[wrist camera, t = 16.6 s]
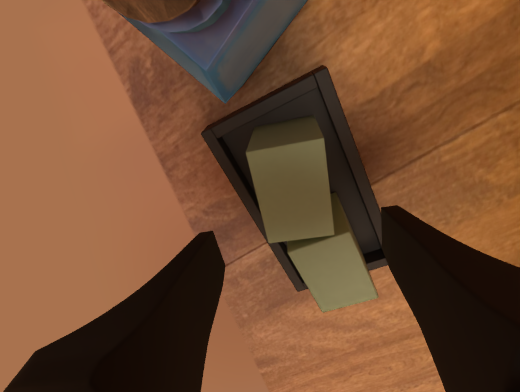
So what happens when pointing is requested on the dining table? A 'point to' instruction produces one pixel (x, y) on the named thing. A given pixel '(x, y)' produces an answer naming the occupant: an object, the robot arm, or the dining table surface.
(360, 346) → the dining table surface
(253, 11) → the perfume bottle
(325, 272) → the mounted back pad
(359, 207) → the frame
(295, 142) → the olive boxy piece
